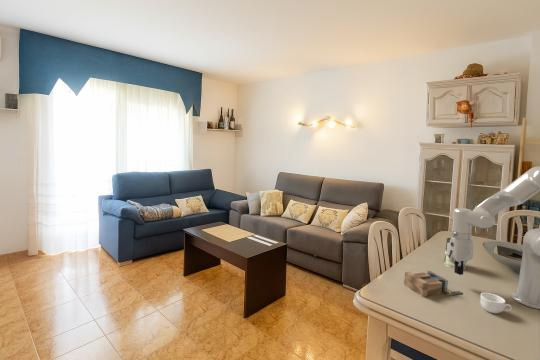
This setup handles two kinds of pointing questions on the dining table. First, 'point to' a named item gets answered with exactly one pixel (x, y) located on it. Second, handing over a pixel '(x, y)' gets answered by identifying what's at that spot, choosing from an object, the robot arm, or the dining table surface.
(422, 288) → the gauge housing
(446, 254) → the coffee can
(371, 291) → the dining table surface
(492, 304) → the teacup
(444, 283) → the grey angular frame piece
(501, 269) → the dining table surface
